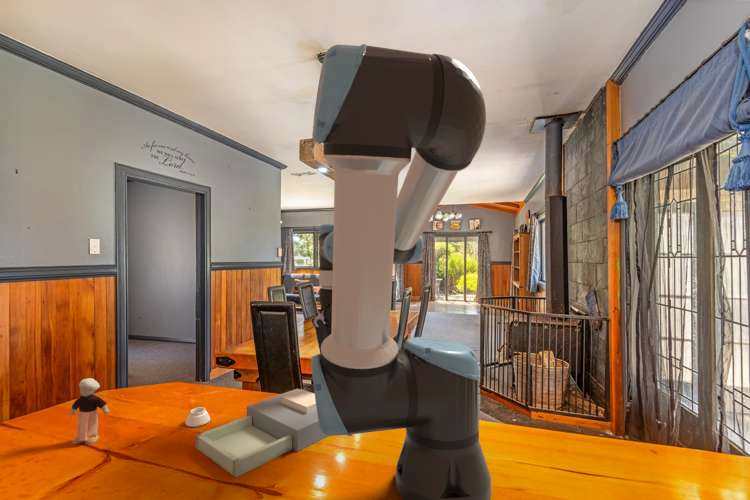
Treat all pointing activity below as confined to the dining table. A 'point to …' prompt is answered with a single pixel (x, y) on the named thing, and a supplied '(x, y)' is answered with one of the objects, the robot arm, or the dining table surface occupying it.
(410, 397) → the robot arm
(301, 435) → the grey drawer casing
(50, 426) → the dining table surface
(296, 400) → the card
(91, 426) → the grandmother figurine
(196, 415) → the white jar
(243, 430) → the tray
